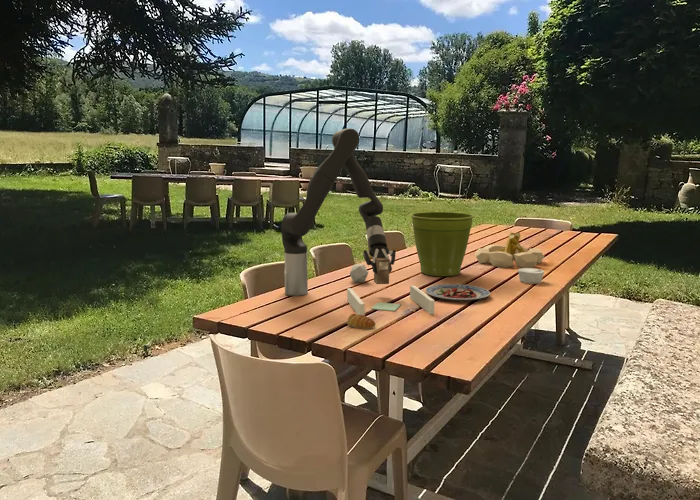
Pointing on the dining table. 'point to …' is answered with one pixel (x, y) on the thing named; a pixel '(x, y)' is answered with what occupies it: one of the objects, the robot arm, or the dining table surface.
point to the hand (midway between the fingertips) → (382, 272)
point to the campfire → (510, 254)
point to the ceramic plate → (457, 292)
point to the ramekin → (530, 275)
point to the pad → (386, 306)
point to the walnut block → (382, 270)
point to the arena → (415, 295)
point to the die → (358, 273)
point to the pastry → (360, 321)
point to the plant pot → (441, 241)
